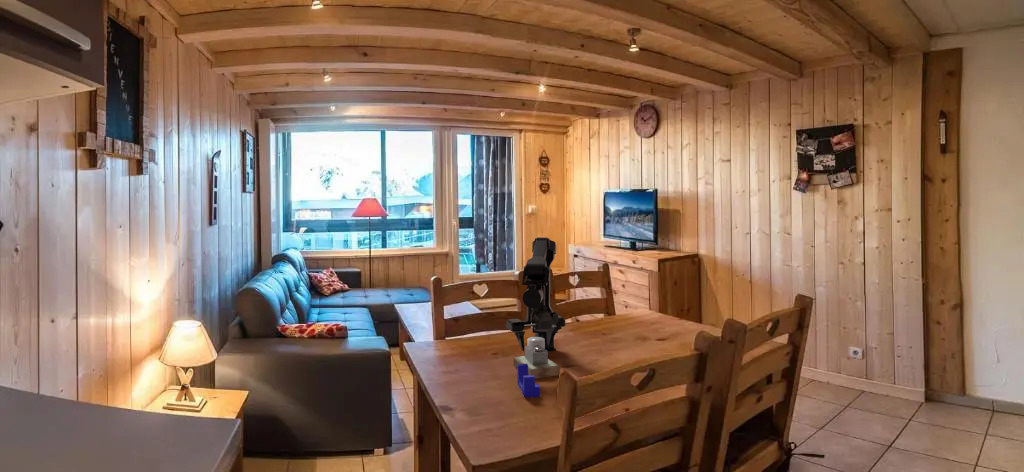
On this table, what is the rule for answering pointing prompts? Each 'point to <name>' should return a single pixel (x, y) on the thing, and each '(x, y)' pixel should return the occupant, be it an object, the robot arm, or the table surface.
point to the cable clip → (527, 382)
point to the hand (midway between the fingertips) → (536, 349)
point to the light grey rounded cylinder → (536, 341)
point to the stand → (539, 368)
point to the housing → (536, 355)
